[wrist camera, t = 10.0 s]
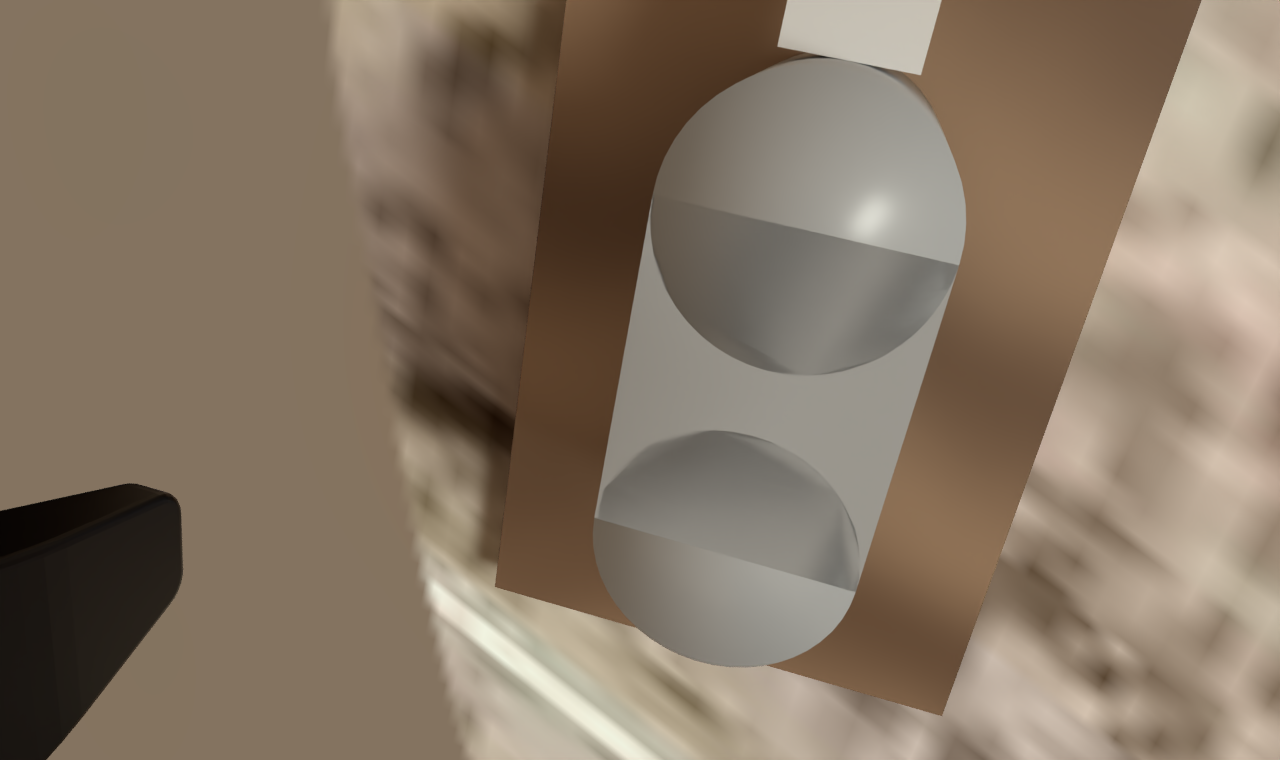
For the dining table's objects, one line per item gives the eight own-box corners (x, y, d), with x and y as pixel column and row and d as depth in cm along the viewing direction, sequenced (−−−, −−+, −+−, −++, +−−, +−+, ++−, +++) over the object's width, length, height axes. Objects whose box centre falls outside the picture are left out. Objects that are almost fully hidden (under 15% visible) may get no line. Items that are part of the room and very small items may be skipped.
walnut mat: (939, 691, 21) (942, 715, 20) (507, 568, 23) (494, 586, 22) (1233, -130, 15) (1250, -137, 14) (607, -220, 16) (594, -231, 16)
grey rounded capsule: (838, 536, 19) (821, 698, 15) (647, 484, 20) (574, 624, 15) (1025, -85, 15) (1083, -125, 10) (770, -129, 16) (720, -184, 11)
